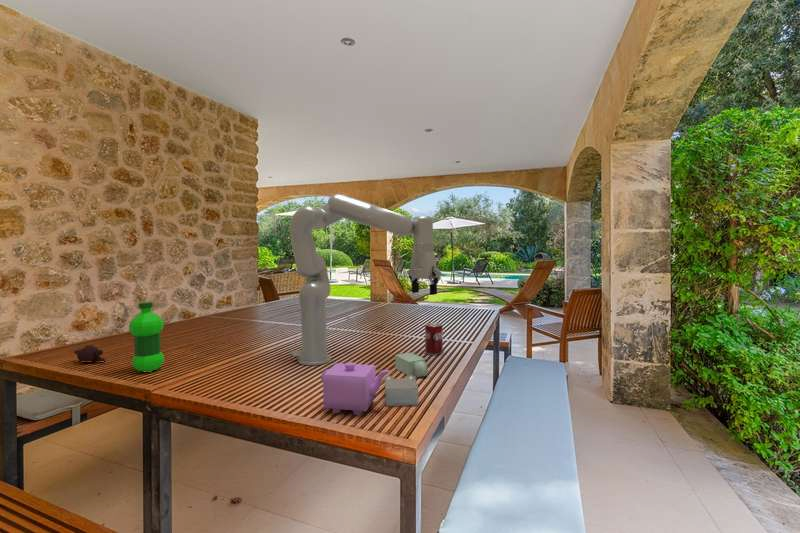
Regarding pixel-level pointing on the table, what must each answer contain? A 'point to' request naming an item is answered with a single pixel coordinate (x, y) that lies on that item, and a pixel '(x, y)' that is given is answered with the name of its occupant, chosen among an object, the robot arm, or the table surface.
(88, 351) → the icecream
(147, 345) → the plastic bottle
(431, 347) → the soda can
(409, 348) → the table surface
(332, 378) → the teapot
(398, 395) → the steel hinge leaf
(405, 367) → the sage hinge leaf
